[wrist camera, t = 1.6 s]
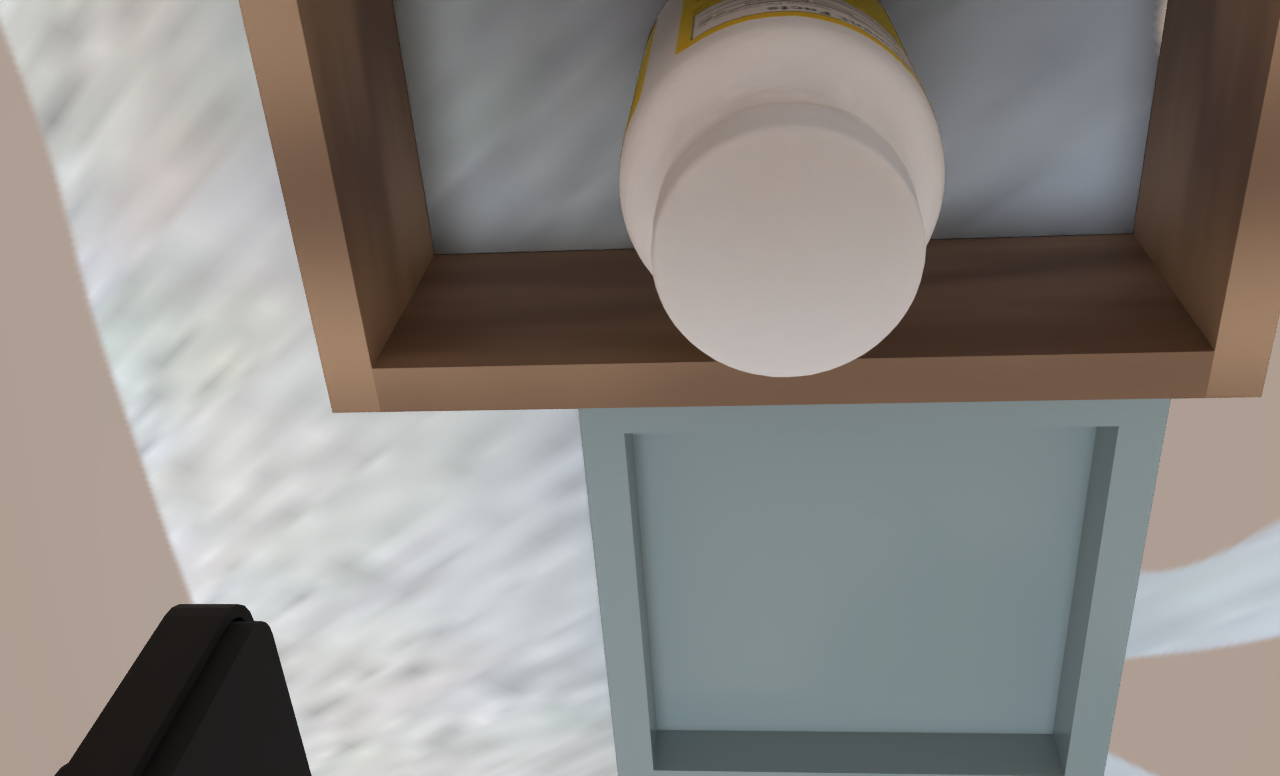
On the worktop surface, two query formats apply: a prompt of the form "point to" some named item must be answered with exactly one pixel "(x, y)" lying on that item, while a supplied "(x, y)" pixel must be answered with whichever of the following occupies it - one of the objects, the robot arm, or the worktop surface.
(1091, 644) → the tray
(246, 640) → the robot arm
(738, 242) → the supplement bottle
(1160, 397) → the holder
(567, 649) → the worktop surface
